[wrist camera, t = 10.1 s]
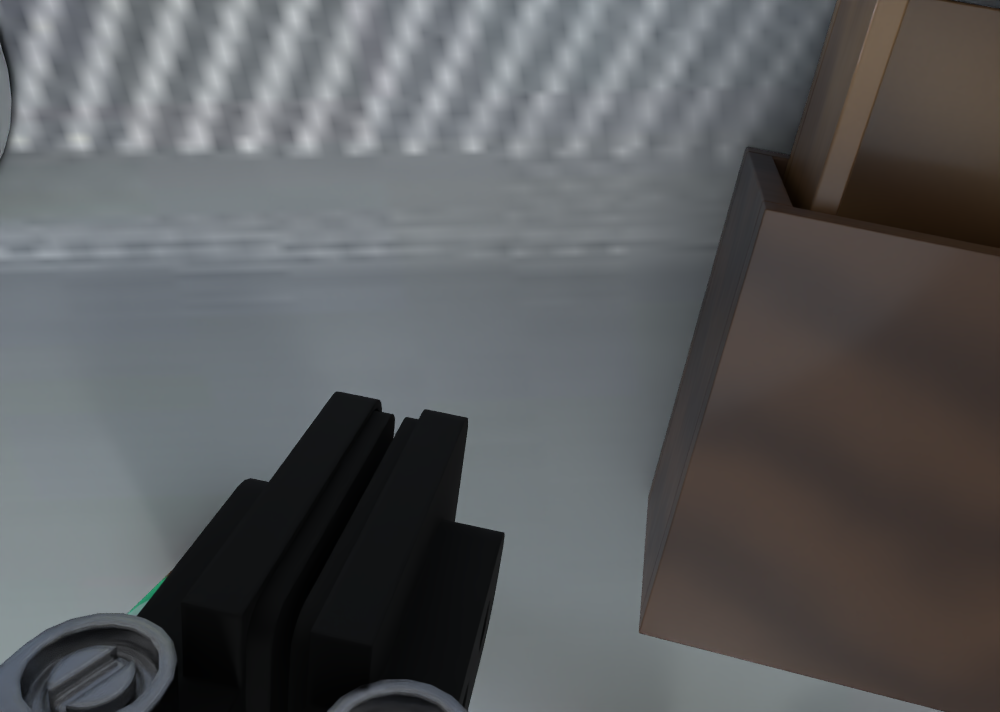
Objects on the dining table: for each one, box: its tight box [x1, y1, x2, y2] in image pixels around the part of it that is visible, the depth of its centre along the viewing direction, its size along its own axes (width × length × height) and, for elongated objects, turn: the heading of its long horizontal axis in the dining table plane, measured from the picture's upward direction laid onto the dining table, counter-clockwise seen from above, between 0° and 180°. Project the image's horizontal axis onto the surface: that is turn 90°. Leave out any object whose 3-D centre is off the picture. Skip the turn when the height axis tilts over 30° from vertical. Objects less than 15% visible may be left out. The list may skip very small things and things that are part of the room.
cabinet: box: [639, 147, 1000, 712], centre depth 31 cm, size 16×14×9 cm
